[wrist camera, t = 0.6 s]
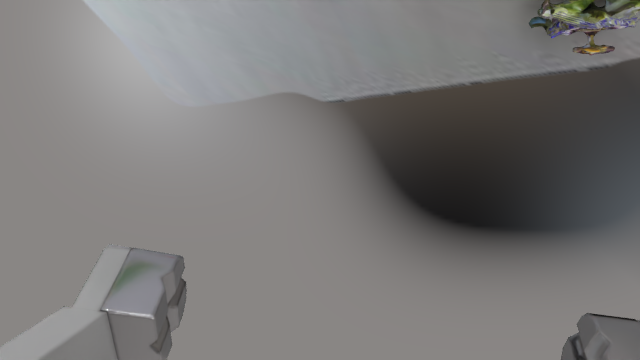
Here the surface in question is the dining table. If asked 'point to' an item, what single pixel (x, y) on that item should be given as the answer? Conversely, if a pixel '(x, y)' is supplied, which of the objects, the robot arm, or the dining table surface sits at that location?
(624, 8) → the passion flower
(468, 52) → the dining table surface
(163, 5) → the dining table surface
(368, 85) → the dining table surface
